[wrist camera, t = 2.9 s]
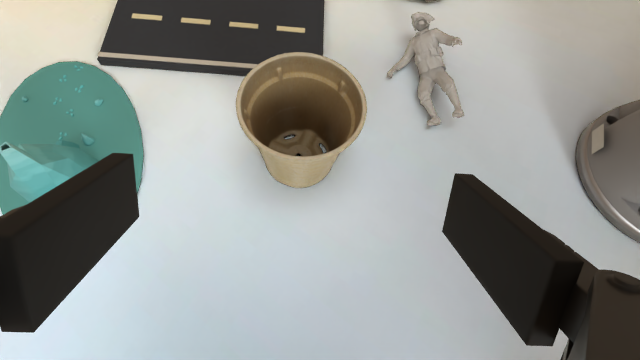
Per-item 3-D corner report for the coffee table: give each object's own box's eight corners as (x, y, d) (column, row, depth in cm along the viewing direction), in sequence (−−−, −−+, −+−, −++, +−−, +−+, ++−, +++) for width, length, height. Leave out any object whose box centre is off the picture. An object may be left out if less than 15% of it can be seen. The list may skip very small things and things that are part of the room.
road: (323, -1, 43) (324, -8, 43) (321, 81, 38) (322, 76, 38) (129, -19, 42) (125, -26, 41) (100, 64, 37) (96, 58, 36)
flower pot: (224, 157, 34) (207, 100, 26) (296, 98, 37) (300, 32, 30) (299, 226, 32) (304, 187, 24) (368, 157, 35) (392, 103, 27)
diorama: (125, 50, 38) (83, -27, 30) (162, 231, 31) (120, 191, 23) (-10, 76, 35) (-94, -1, 27) (-4, 280, 28) (-115, 255, 20)
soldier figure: (399, 134, 38) (370, 23, 39) (416, 135, 42) (389, 34, 43) (478, 108, 33) (443, -17, 34) (489, 112, 37) (457, 0, 38)
